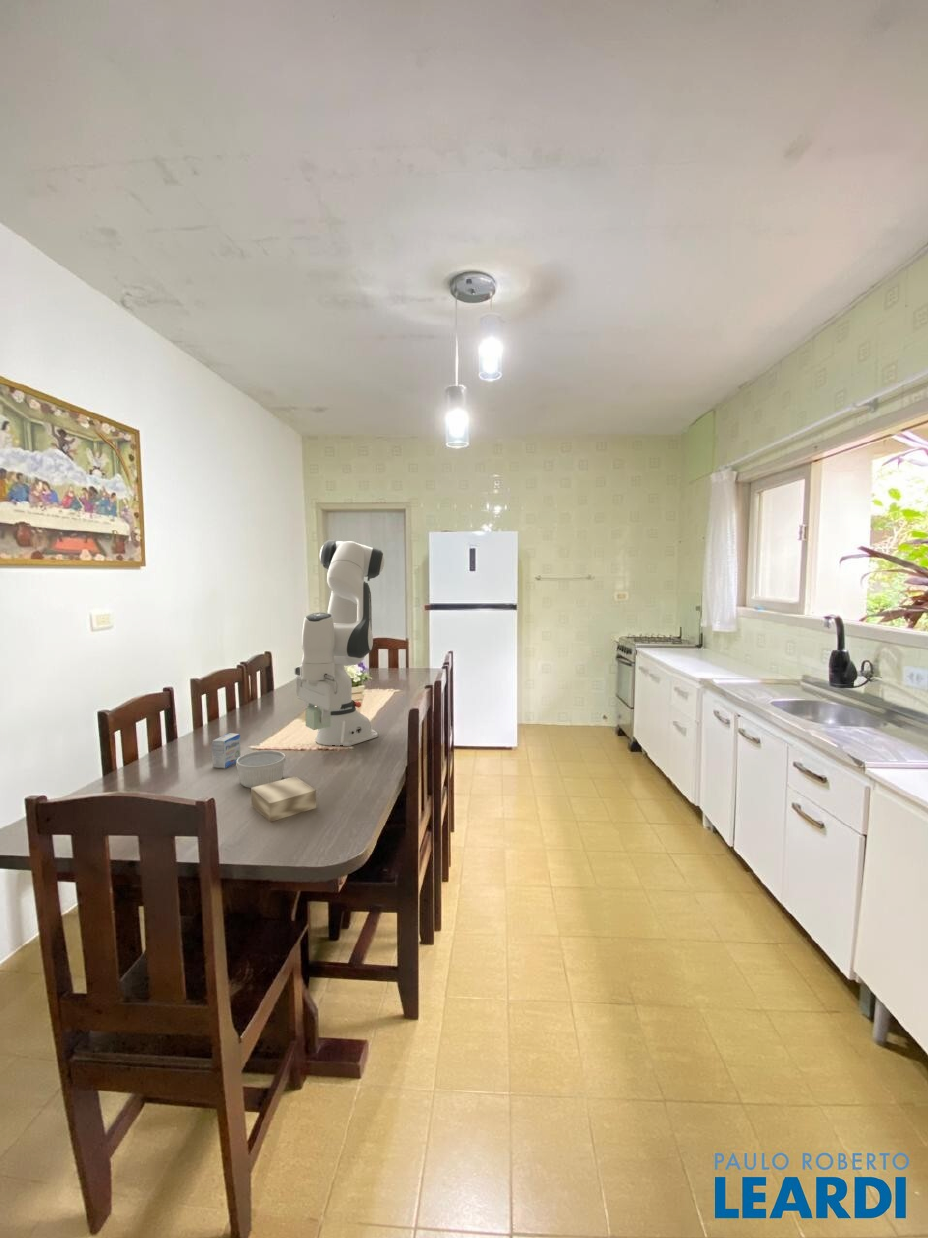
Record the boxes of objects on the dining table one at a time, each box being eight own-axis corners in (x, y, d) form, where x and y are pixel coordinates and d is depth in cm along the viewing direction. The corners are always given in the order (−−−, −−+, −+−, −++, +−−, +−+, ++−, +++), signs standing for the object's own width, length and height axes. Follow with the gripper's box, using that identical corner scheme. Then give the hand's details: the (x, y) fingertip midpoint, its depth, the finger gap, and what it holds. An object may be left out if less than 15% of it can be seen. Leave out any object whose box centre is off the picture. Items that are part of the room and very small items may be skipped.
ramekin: (255, 794, 140) (255, 769, 140) (226, 783, 147) (226, 759, 147) (294, 779, 152) (294, 755, 151) (266, 769, 159) (265, 747, 158)
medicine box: (224, 769, 158) (224, 741, 157) (211, 767, 159) (211, 740, 158) (240, 760, 166) (240, 733, 165) (228, 759, 166) (228, 732, 166)
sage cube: (321, 722, 148) (322, 705, 148) (330, 726, 145) (330, 709, 144) (305, 725, 145) (305, 708, 144) (313, 730, 141) (313, 712, 141)
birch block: (295, 794, 142) (295, 776, 142) (315, 809, 133) (315, 790, 133) (251, 806, 134) (251, 787, 134) (270, 823, 125) (269, 803, 125)
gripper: (347, 676, 138) (347, 726, 139) (312, 665, 153) (311, 711, 154) (326, 678, 134) (325, 731, 135) (291, 667, 149) (291, 714, 150)
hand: (318, 720), depth 145 cm, fingers closed on sage cube, 5 cm apart
